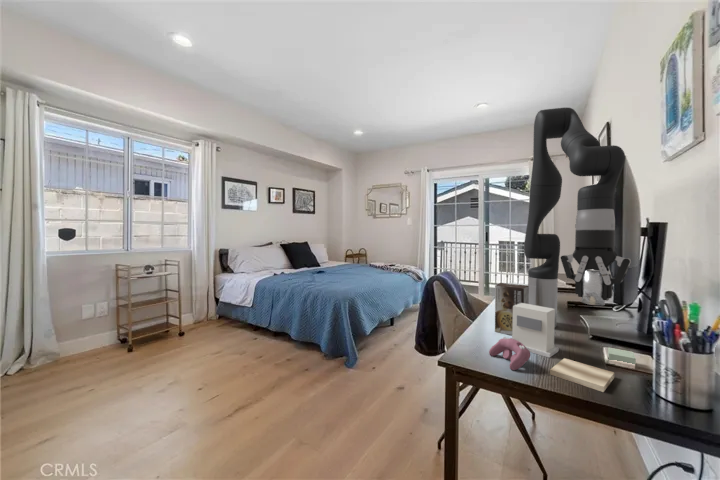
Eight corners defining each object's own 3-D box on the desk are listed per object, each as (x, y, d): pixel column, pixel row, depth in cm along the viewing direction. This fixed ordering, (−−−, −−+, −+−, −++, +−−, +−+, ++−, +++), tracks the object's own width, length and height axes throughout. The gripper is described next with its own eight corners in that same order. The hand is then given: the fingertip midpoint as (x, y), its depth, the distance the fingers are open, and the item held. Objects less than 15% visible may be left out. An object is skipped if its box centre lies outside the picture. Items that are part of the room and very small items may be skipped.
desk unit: (518, 339, 92) (519, 301, 92) (558, 351, 84) (559, 309, 84) (507, 345, 88) (508, 305, 88) (549, 357, 79) (550, 313, 79)
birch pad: (564, 362, 76) (564, 358, 76) (614, 377, 69) (614, 372, 69) (550, 374, 70) (550, 369, 70) (603, 392, 62) (603, 386, 62)
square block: (607, 358, 80) (608, 347, 80) (632, 363, 77) (633, 352, 77) (608, 364, 76) (609, 353, 76) (635, 370, 73) (635, 358, 73)
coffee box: (528, 333, 99) (529, 285, 98) (523, 338, 94) (524, 288, 93) (499, 327, 105) (500, 282, 104) (493, 331, 100) (494, 284, 100)
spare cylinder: (584, 300, 76) (585, 269, 75) (606, 303, 72) (607, 271, 72) (579, 302, 73) (580, 270, 73) (602, 306, 69) (603, 272, 69)
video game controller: (525, 376, 72) (537, 350, 73) (510, 369, 71) (522, 343, 72) (499, 359, 82) (509, 336, 82) (486, 353, 81) (496, 330, 82)
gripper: (636, 228, 69) (635, 301, 69) (565, 229, 80) (563, 292, 80) (631, 227, 64) (629, 306, 65) (555, 228, 75) (554, 295, 75)
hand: (593, 297), depth 72 cm, fingers closed on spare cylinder, 4 cm apart
